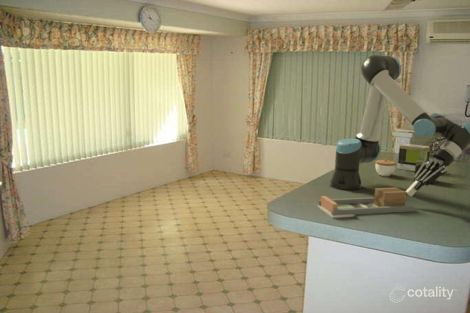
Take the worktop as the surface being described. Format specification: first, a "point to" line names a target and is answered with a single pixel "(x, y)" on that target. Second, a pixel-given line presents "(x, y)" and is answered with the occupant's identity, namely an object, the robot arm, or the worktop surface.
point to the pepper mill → (425, 161)
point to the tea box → (411, 156)
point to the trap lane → (356, 207)
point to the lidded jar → (385, 167)
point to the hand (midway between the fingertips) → (408, 194)
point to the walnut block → (389, 197)
